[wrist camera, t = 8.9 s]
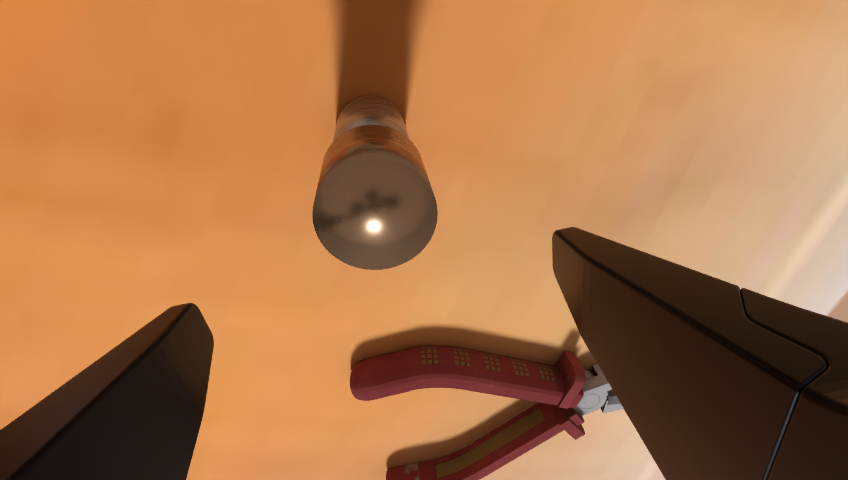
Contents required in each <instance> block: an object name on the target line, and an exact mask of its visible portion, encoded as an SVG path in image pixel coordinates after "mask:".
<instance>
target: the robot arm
mask: <svg viewBox="0 0 848 480" xmlns="http://www.w3.org/2000/svg"><path fill="white" fill-rule="evenodd" d="M552 252H553V270H554V274H555V277H556V279H557V282H558V284H559V286H560V289H561V291H562V293H563V296H564V298H565V300H566V302H567V305H568V307H569V309H570V312H571V314H572V316H573V319H574V321H575V323H576V325H577V328H578V330H579V332H580V334H581V336H582V338H583V340H584V342H585V344H586V345H587V347H588V349H589V351H590V352H591V354H592V356H593V357H594V359H595V361H596V362H597V364H598V366H599V368H600V369H601V371H602V373H603V374H604V376H605V378H606V379H607V381H608V383H609V384H610V386H611V388H612V390H613V391H614V393H615V395H616V396H617V398H618V400H619V401H620V403H621V405H622V406H623V408H624V410H625V412H626V413H627V415H628V417H629V418H630V420H631V422H632V423H633V425H634V427H635V428H636V430H637V432H638V433H639V435H640V437H641V439H642V440H643V442H644V444H645V445H646V447H647V449H648V450H649V452H650V454H651V455H652V457H653V459H654V461H655V462H656V464H657V466H658V467H659V469H660V471H661V472H662V474H663V476H664V477H665V479H666V480H848V323H847V322H844V321H841V320H838V319H834V318H831V317H828V316H825V315H821V314H818V313H815V312H812V311H809V310H805V309H802V308H799V307H796V306H793V305H790V304H788V303H785V302H782V301H779V300H776V299H773V298H770V297H767V296H764V295H762V294H759V293H756V292H753V291H751V290H748V289H745V288H742V289H741V290H740V288H739V286H737V285H734V284H731V283H728V282H725V281H723V280H720V279H717V278H714V277H712V276H709V275H706V274H703V273H700V272H698V271H695V270H692V269H689V268H687V267H684V266H681V265H678V264H676V263H673V262H670V261H667V260H664V259H662V258H659V257H656V256H653V255H651V254H648V253H645V252H642V251H639V250H637V249H634V248H631V247H628V246H626V245H623V244H620V243H617V242H614V241H612V240H609V239H606V238H603V237H601V236H598V235H595V234H592V233H589V232H587V231H584V230H581V229H578V228H575V227H570V228H565V229H560V230H556V231H555V232H554V233H553V237H552ZM213 347H214V340H213V335H212V333H211V331H210V329H209V327H208V325H207V323H206V321H205V319H204V317H203V315H202V313H201V312H200V310H199V308H198V307H197V306H196V305H195V304H193V303H187V304H182V305H177V306H173V307H170V308H169V309H167V310H166V311H165V312H163V313H162V314H161V315H159V316H158V317H156V318H155V319H154V320H152V321H151V322H149V323H148V324H147V325H145V326H144V327H143V328H141V329H140V330H138V331H137V332H136V333H134V334H133V335H131V336H130V337H129V338H127V339H126V340H125V341H123V342H122V343H120V344H119V345H118V346H116V347H115V348H113V349H112V350H111V351H109V352H108V353H107V354H105V355H104V356H102V357H101V358H100V359H98V360H97V361H95V362H94V363H93V364H91V365H90V366H89V367H87V368H86V369H84V370H83V371H82V372H80V373H79V374H77V375H76V376H75V377H73V378H72V379H71V380H69V381H68V382H66V383H65V384H64V385H62V386H61V387H59V388H58V389H57V390H55V391H54V392H53V393H51V394H50V395H48V396H47V397H46V398H44V399H43V400H41V401H40V402H39V403H37V404H36V405H35V406H33V407H32V408H30V409H29V410H28V411H26V412H25V413H23V414H22V415H21V416H19V417H18V418H17V419H15V420H14V421H12V422H11V423H10V424H8V425H7V426H5V427H4V428H3V429H1V430H0V480H186V477H187V474H188V470H189V466H190V463H191V459H192V455H193V451H194V448H195V444H196V440H197V436H198V433H199V429H200V425H201V421H202V417H203V412H204V407H205V401H206V395H207V388H208V381H209V374H210V367H211V361H212V354H213Z"/></svg>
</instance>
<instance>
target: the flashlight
mask: <svg viewBox="0 0 848 480" xmlns="http://www.w3.org/2000/svg"><path fill="white" fill-rule="evenodd" d="M436 223H437V204H436V200H435V197H434V194H433V191H432V188H431V185H430V182H429V179H428V176H427V173H426V170H425V167H424V164H423V161H422V158H421V156H420V153H419V151H418V150H417V148H416V146H415V145H414V144H413V143H412V141H411V140H410V139H409V137H408V133H407V130H406V127H405V123H404V120H403V117H402V115H401V113H400V111H399V110H398V109H397V108H396V106H395V105H394V104H392V103H391V102H390V101H388V100H386V99H384V98H382V97H379V96H373V95H367V96H361V97H358V98H355V99H353V100H352V101H350V102H349V103H348V104H346V106H345V107H344V108H343V109H342V110H341V112H340V114H339V116H338V119H337V124H336V129H335V135H334V140H333V143H332V144H331V145H330V147H329V148H328V150H327V152H326V154H325V157H324V159H323V164H322V169H321V173H320V178H319V182H318V187H317V191H316V196H315V201H314V205H313V224H314V228H315V231H316V233H317V236H318V238H319V240H320V241H321V243H322V244H323V246H324V247H325V248H326V249H327V250H328V251H329V252H330V253H331V254H332V255H333V256H335V257H336V258H337V259H339V260H340V261H342V262H344V263H346V264H348V265H351V266H354V267H357V268H362V269H370V270H380V269H388V268H392V267H396V266H398V265H401V264H403V263H405V262H407V261H409V260H411V259H412V258H414V257H415V256H416V255H417V254H419V253H420V252H421V251H422V250H423V249H424V248H425V246H426V245H427V244H428V242H429V241H430V239H431V237H432V235H433V233H434V230H435V227H436Z"/></svg>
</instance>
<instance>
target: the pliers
mask: <svg viewBox="0 0 848 480" xmlns="http://www.w3.org/2000/svg"><path fill="white" fill-rule="evenodd" d="M593 368H594V373H595V376H594V374H593V373H592V372H590V371H588V370H584V369H583V367H582V366H581V364H580V362H579V360H578V359H577V357H576V355H575V354H574V353H573V352H569V351H564V352H563V353H562V355H561V356H560V358H559V359H558V361H557V363H556V364H555V366H551V365H546V364H541V363H536V362H531V361H525V360H520V359H515V358H510V357H505V356H500V355H494V354H489V353H484V352H479V351H474V350H469V349H463V348H456V347H446V346H420V347H413V348H409V349H405V350H401V351H397V352H393V353H389V354H385V355H381V356H377V357H373V358H369V359H365V360H363V361H361V362H359V363H357V364H356V365H355V366H354V368H353V370H352V372H351V376H350V388H351V391H352V394H353V395H354V397H355V398H357V399H359V400H364V401H369V400H375V399H379V398H383V397H387V396H391V395H396V394H400V393H404V392H408V391H411V390H415V389H422V388H455V389H463V390H469V391H475V392H481V393H487V394H493V395H498V396H504V397H510V398H516V399H522V400H528V401H534V402H539V403H538V404H536V405H534V406H533V407H531V408H530V409H528V410H526V411H525V412H523V413H521V414H520V415H518V416H517V417H515V418H513V419H512V420H510V421H508V422H507V423H505V424H504V425H502V426H500V427H499V428H497V429H495V430H494V431H492V432H491V433H489V434H487V435H486V436H484V437H482V438H481V439H479V440H478V441H476V442H474V443H473V444H471V445H469V446H467V447H465V448H464V449H462V450H459V451H457V452H455V453H453V454H450V455H447V456H444V457H441V458H438V459H434V460H429V461H424V462H419V463H414V464H408V465H403V466H399V467H394V468H389V469H388V470H387V474H386V480H479V479H481V478H483V477H485V476H487V475H489V474H490V473H492V472H494V471H495V470H497V469H499V468H500V467H502V466H504V465H505V464H507V463H509V462H511V461H512V460H514V459H516V458H517V457H519V456H521V455H522V454H524V453H526V452H528V451H529V450H531V449H533V448H534V447H536V446H538V445H539V444H541V443H543V442H545V441H546V440H548V439H550V438H551V437H553V436H555V435H556V434H558V433H560V432H562V431H563V430H565V431H566V432H567V433H568V434H569V435H571V436H572V437H573V438H574V439H575V440H576V439H578V438H579V437H581V436H583V435H585V431H584V429H583V427H582V425H581V424H582V423H583V422H584V419H583V417H582V415H585V414H588V413H591V412H594V411H596V410H598V409H600V408H601V410H602V412H603V413H605V412H612V411H617V410H621V409H624V408H623V406H622V405H621V403H620V401H619V400H618V398H617V396H616V395H615V393H614V391H613V390H612V388H611V386H610V384H609V383H608V381H607V379H606V378H605V376H604V374H603V373H602V371H601V369H600V368H599V366H598V364H595V365H593Z"/></svg>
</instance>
